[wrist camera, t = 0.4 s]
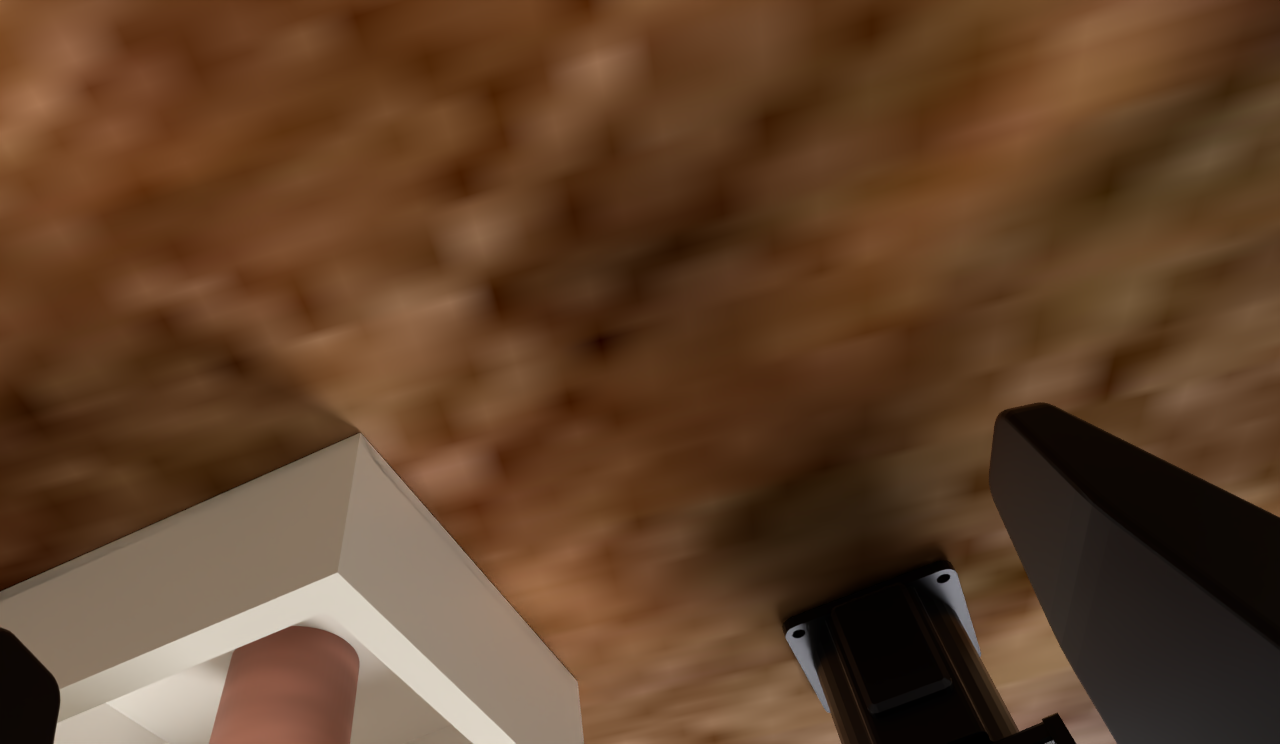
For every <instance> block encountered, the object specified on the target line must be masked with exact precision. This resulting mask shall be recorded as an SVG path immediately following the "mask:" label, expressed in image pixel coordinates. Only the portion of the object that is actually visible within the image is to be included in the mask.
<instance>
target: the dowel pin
mask: <svg viewBox="0 0 1280 744" xmlns="http://www.w3.org/2000/svg"><path fill="white" fill-rule="evenodd" d="M359 667H360V661H359V657H358V654H357V652H356V651H355V649H354V648H353V647H352V646H351V645H350V644H349V643H348V642H347V641H346V640H344V639H343V638H341V637H339V636H338V635H335V634H333V633H331V632H328V631H325V630H322V629H318V628H312V627H305V626H290V627H287V628H285V629H282V630H280V631H278V632H275V633H273V634H270V635H268V636H265V637H263V638H261V639H258V640H256V641H253V642H251V643H249V644H246V645H244V646H241V647H239V648H237V649H235V650H234V652H233V654H232V657H231V661H230V665H229V668H228V672H227V676H226V680H225V684H224V687H223V691H222V695H221V699H220V703H219V707H218V710H217V714H216V718H215V722H214V726H213V729H212V733H211V737H210V741H209V744H350V739H351V731H352V723H353V715H354V707H355V699H356V691H357V683H358V675H359Z"/></svg>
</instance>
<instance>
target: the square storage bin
mask: <svg viewBox="0 0 1280 744" xmlns="http://www.w3.org/2000/svg"><path fill="white" fill-rule="evenodd" d="M290 626H305V627H312V628H318V629H322V630H325V631H328V632H331V633H333V634H335V635H338V636H339V637H341V638H343V639H344V640H346V641H347V642H348V643H349V644H350V645H351V646H352V647H353V648H354V649H355V651H356V652H357V654H358V657H359V661H360V667H359V675H358V683H357V691H356V699H355V707H354V715H353V723H352V731H351V739H350V744H584V739H583V729H582V719H581V710H580V700H579V690H578V682H577V681H576V679H575V678H574V677H573V676H572V675H571V674H570V673H569V671H568V670H567V669H566V668H565V667H564V666H563V664H562V663H561V662H560V661H559V660H558V659H557V658H556V656H555V655H554V654H553V653H552V652H551V651H550V650H549V648H548V647H547V646H546V645H545V644H544V643H543V642H542V640H541V639H540V638H539V637H538V636H537V635H536V633H535V632H534V631H533V630H532V629H531V628H530V627H529V625H528V624H527V623H526V622H525V621H524V620H523V619H522V617H521V616H520V615H519V614H518V613H517V612H516V611H515V609H514V608H513V607H512V606H511V605H510V604H509V602H508V601H507V600H506V599H505V598H504V597H503V596H502V594H501V593H500V592H499V591H498V590H497V589H496V588H495V586H494V585H493V584H492V583H491V582H490V581H489V580H488V578H487V577H486V576H485V575H484V574H483V573H482V571H481V570H480V569H479V568H478V567H477V566H476V565H475V563H474V562H473V561H472V560H471V559H470V558H469V557H468V555H467V554H466V553H465V552H464V551H463V550H462V549H461V547H460V546H459V545H458V544H457V543H456V542H455V540H454V539H453V538H452V537H451V536H450V535H449V534H448V532H447V531H446V530H445V529H444V528H443V527H442V526H441V524H440V523H439V522H438V521H437V520H436V519H435V518H434V516H433V515H432V514H431V513H430V512H429V511H428V509H427V508H426V507H425V506H424V505H423V504H422V503H421V501H420V500H419V499H418V498H417V497H416V496H415V495H414V493H413V492H412V491H411V490H410V489H409V488H408V487H407V485H406V484H405V483H404V482H403V481H402V480H401V478H400V477H399V476H398V475H397V474H396V473H395V472H394V470H393V469H392V468H391V467H390V466H389V465H388V464H387V462H386V461H385V460H384V459H383V458H382V457H381V456H380V454H379V453H378V452H377V451H376V450H375V449H374V447H373V446H372V445H371V444H370V443H369V442H368V441H367V439H366V438H365V437H364V436H363V435H362V434H361V433H358V434H356V435H354V436H351V437H349V438H347V439H345V440H342V441H340V442H338V443H336V444H333V445H331V446H329V447H326V448H324V449H322V450H320V451H317V452H315V453H313V454H311V455H308V456H306V457H304V458H302V459H299V460H297V461H295V462H293V463H290V464H288V465H286V466H283V467H281V468H279V469H277V470H274V471H272V472H270V473H268V474H265V475H263V476H261V477H259V478H256V479H254V480H252V481H250V482H247V483H245V484H243V485H240V486H238V487H236V488H234V489H231V490H229V491H227V492H225V493H222V494H220V495H218V496H216V497H213V498H211V499H209V500H207V501H204V502H202V503H200V504H198V505H195V506H193V507H191V508H188V509H186V510H184V511H182V512H179V513H177V514H175V515H173V516H170V517H168V518H166V519H164V520H161V521H159V522H157V523H155V524H152V525H150V526H148V527H145V528H143V529H141V530H139V531H136V532H134V533H132V534H130V535H127V536H125V537H123V538H121V539H118V540H116V541H114V542H112V543H109V544H107V545H105V546H102V547H100V548H98V549H96V550H93V551H91V552H89V553H87V554H84V555H82V556H80V557H78V558H75V559H73V560H71V561H69V562H66V563H64V564H62V565H59V566H57V567H55V568H53V569H50V570H48V571H46V572H44V573H41V574H39V575H37V576H35V577H32V578H30V579H28V580H26V581H23V582H21V583H19V584H17V585H14V586H12V587H10V588H7V589H5V590H3V591H1V592H0V627H1V628H4V629H7V630H9V631H11V632H12V633H13V634H14V635H15V636H16V637H17V638H18V639H19V640H20V641H21V642H22V643H23V644H24V645H25V646H26V647H27V648H28V649H29V650H30V651H31V652H32V653H33V654H34V656H35V657H36V658H37V659H38V660H39V661H40V662H41V663H42V664H43V665H44V666H45V667H46V668H47V669H48V670H49V671H50V672H51V673H52V674H53V676H54V677H55V679H56V681H57V683H58V686H59V690H60V700H61V701H60V710H59V715H58V721H57V727H56V732H55V738H54V744H209V741H210V737H211V733H212V729H213V726H214V722H215V718H216V714H217V710H218V707H219V703H220V699H221V695H222V691H223V687H224V684H225V680H226V676H227V672H228V668H229V665H230V661H231V657H232V654H233V652H234V650H235V649H237V648H239V647H241V646H244V645H246V644H249V643H251V642H253V641H256V640H258V639H261V638H263V637H265V636H268V635H270V634H273V633H275V632H278V631H280V630H282V629H285V628H287V627H290Z"/></svg>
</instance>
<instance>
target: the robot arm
mask: <svg viewBox="0 0 1280 744" xmlns="http://www.w3.org/2000/svg"><path fill="white" fill-rule="evenodd" d="M989 485H990V490H991V494H992V497H993V500H994V502H995V505H996V507H997V509H998V511H999V514H1000V516H1001V518H1002V520H1003V522H1004V525H1005V527H1006V529H1007V531H1008V534H1009V536H1010V538H1011V540H1012V542H1013V545H1014V547H1015V549H1016V551H1017V553H1018V556H1019V558H1020V560H1021V562H1022V564H1023V567H1024V569H1025V571H1026V573H1027V575H1028V578H1029V580H1030V582H1031V584H1032V587H1033V589H1034V591H1035V593H1036V595H1037V598H1038V600H1039V602H1040V604H1041V606H1042V609H1043V611H1044V613H1045V615H1046V617H1047V620H1048V622H1049V624H1050V626H1051V628H1052V630H1053V632H1054V634H1055V636H1056V639H1057V641H1058V643H1059V645H1060V647H1061V649H1062V650H1063V652H1064V654H1065V656H1066V658H1067V659H1068V661H1069V663H1070V665H1071V667H1072V668H1073V670H1074V672H1075V674H1076V675H1077V677H1078V679H1079V680H1080V682H1081V684H1082V685H1083V687H1084V689H1085V690H1086V692H1087V694H1088V695H1089V697H1090V699H1091V700H1092V702H1093V704H1094V706H1095V707H1096V709H1097V711H1098V712H1099V714H1100V716H1101V717H1102V719H1103V721H1104V722H1105V724H1106V726H1107V727H1108V729H1109V731H1110V732H1111V734H1112V736H1113V737H1114V739H1115V741H1116V743H1117V744H1280V517H1278V516H1276V515H1274V514H1272V513H1270V512H1267V511H1265V510H1263V509H1261V508H1259V507H1257V506H1255V505H1253V504H1251V503H1249V502H1247V501H1245V500H1243V499H1241V498H1239V497H1237V496H1235V495H1233V494H1231V493H1229V492H1227V491H1225V490H1223V489H1221V488H1219V487H1217V486H1215V485H1213V484H1211V483H1209V482H1207V481H1205V480H1203V479H1201V478H1199V477H1197V476H1195V475H1193V474H1191V473H1189V472H1187V471H1185V470H1183V469H1181V468H1179V467H1177V466H1175V465H1173V464H1171V463H1169V462H1167V461H1165V460H1163V459H1160V458H1158V457H1156V456H1154V455H1152V454H1150V453H1148V452H1146V451H1144V450H1142V449H1140V448H1138V447H1136V446H1134V445H1132V444H1130V443H1128V442H1126V441H1124V440H1122V439H1120V438H1118V437H1116V436H1114V435H1112V434H1110V433H1108V432H1106V431H1104V430H1102V429H1100V428H1098V427H1096V426H1094V425H1092V424H1090V423H1088V422H1086V421H1084V420H1082V419H1080V418H1078V417H1076V416H1074V415H1072V414H1070V413H1068V412H1066V411H1064V410H1062V409H1060V408H1058V407H1056V406H1053V405H1051V404H1048V403H1034V404H1029V405H1024V406H1020V407H1015V408H1010V409H1006V410H1004V411H1002V412H1001V413H1000V414H999V415H998V416H997V418H996V421H995V425H994V434H993V443H992V452H991V460H990V469H989ZM782 627H783V631H784V634H785V637H786V640H787V641H788V643H789V645H790V647H791V649H792V650H793V652H794V654H795V656H796V658H797V660H798V661H799V663H800V665H801V667H802V669H803V670H804V672H805V674H806V676H807V678H808V680H809V681H810V683H811V685H812V687H813V689H814V691H815V692H816V694H817V696H818V698H819V700H820V701H821V703H822V705H823V707H824V709H825V710H826V711H827V712H829V713H831V715H832V718H833V721H834V724H835V726H836V729H837V732H838V735H839V738H840V740H841V743H842V744H1076V743H1075V741H1074V739H1073V738H1072V736H1071V734H1070V733H1069V731H1068V729H1067V728H1066V726H1065V724H1064V723H1063V721H1062V719H1061V718H1060V716H1059V714H1058V713H1055V714H1053V715H1050V716H1048V717H1045V718H1043V719H1042V721H1043V722H1042V723H1039V724H1037V725H1034V726H1032V727H1030V728H1027V729H1025V730H1022V731H1020V732H1019V730H1018V728H1017V726H1016V724H1015V722H1014V720H1013V719H1012V717H1011V715H1010V713H1009V711H1008V709H1007V707H1006V705H1005V704H1004V702H1003V700H1002V698H1001V696H1000V694H999V692H998V690H997V689H996V687H995V685H994V683H993V681H992V679H991V677H990V675H989V674H988V672H987V670H986V668H985V666H984V664H983V662H982V660H981V659H980V656H981V652H980V649H979V645H978V642H977V639H976V635H975V632H974V629H973V625H972V622H971V619H970V615H969V612H968V609H967V605H966V602H965V599H964V595H963V592H962V589H961V585H960V582H959V579H958V575H957V573H956V571H955V569H954V567H953V566H952V564H951V563H950V562H948V561H938V562H935V563H932V564H930V565H927V566H924V567H922V568H919V569H917V570H914V571H911V572H909V573H906V574H904V575H901V576H898V577H896V578H893V579H891V580H888V581H885V582H883V583H880V584H878V585H875V586H872V587H870V588H867V589H865V590H862V591H859V592H857V593H854V594H852V595H849V596H846V597H844V598H841V599H839V600H836V601H833V602H831V603H828V604H826V605H823V606H820V607H818V608H815V609H813V610H810V611H807V612H805V613H802V614H800V615H797V616H794V617H792V618H790V619H788V620H787V621H786V622H785V623H784V624H783V626H782ZM60 701H61V700H60V690H59V686H58V683H57V681H56V679H55V677H54V676H53V674H52V673H51V672H50V671H49V670H48V669H47V668H46V667H45V666H44V665H43V664H42V663H41V662H40V661H39V660H38V659H37V658H36V657H35V656H34V654H33V653H32V652H31V651H30V650H29V649H28V648H27V647H26V646H25V645H24V644H23V643H22V642H21V641H20V640H19V639H18V638H17V637H16V636H15V635H14V634H13V633H12V632H11V631H9V630H7V629H4V628H1V627H0V744H54V738H55V732H56V727H57V721H58V715H59V710H60Z"/></svg>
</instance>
